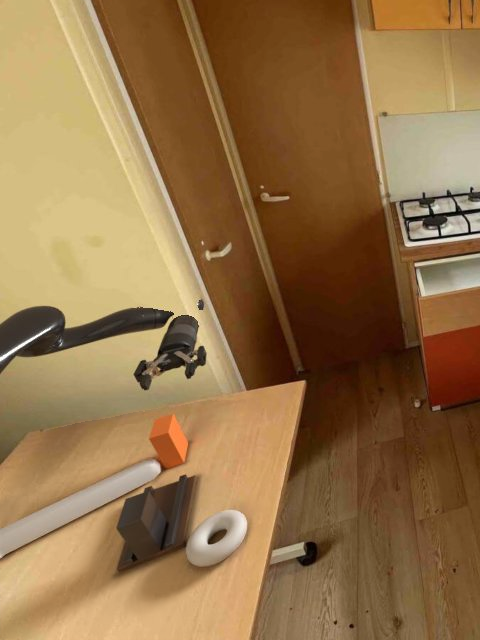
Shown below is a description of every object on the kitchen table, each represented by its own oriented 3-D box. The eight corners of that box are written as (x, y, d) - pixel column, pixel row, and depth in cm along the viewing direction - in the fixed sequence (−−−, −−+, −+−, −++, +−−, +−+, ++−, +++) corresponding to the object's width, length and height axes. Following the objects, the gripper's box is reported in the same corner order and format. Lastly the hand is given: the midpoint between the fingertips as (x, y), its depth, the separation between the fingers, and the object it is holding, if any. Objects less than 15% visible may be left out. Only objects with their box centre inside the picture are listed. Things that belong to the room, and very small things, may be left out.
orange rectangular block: (165, 469, 96) (148, 438, 91) (170, 448, 101) (154, 418, 96) (184, 462, 97) (168, 432, 93) (188, 443, 102) (173, 413, 97)
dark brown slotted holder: (119, 573, 77) (91, 537, 72) (141, 497, 90) (119, 462, 85) (184, 546, 81) (163, 511, 76) (197, 478, 94) (179, 443, 89)
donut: (189, 583, 76) (252, 548, 81) (182, 572, 74) (246, 538, 79) (189, 535, 83) (247, 506, 88) (183, 524, 81) (241, 496, 86)
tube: (155, 449, 96) (-9, 526, 80) (155, 458, 92) (-17, 541, 76) (164, 469, 97) (4, 549, 81) (165, 478, 93) (-3, 565, 77)
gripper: (140, 340, 110) (123, 379, 97) (204, 325, 116) (196, 360, 103) (151, 362, 114) (136, 403, 101) (213, 346, 120) (206, 383, 107)
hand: (166, 381), depth 102 cm, fingers open, 8 cm apart
